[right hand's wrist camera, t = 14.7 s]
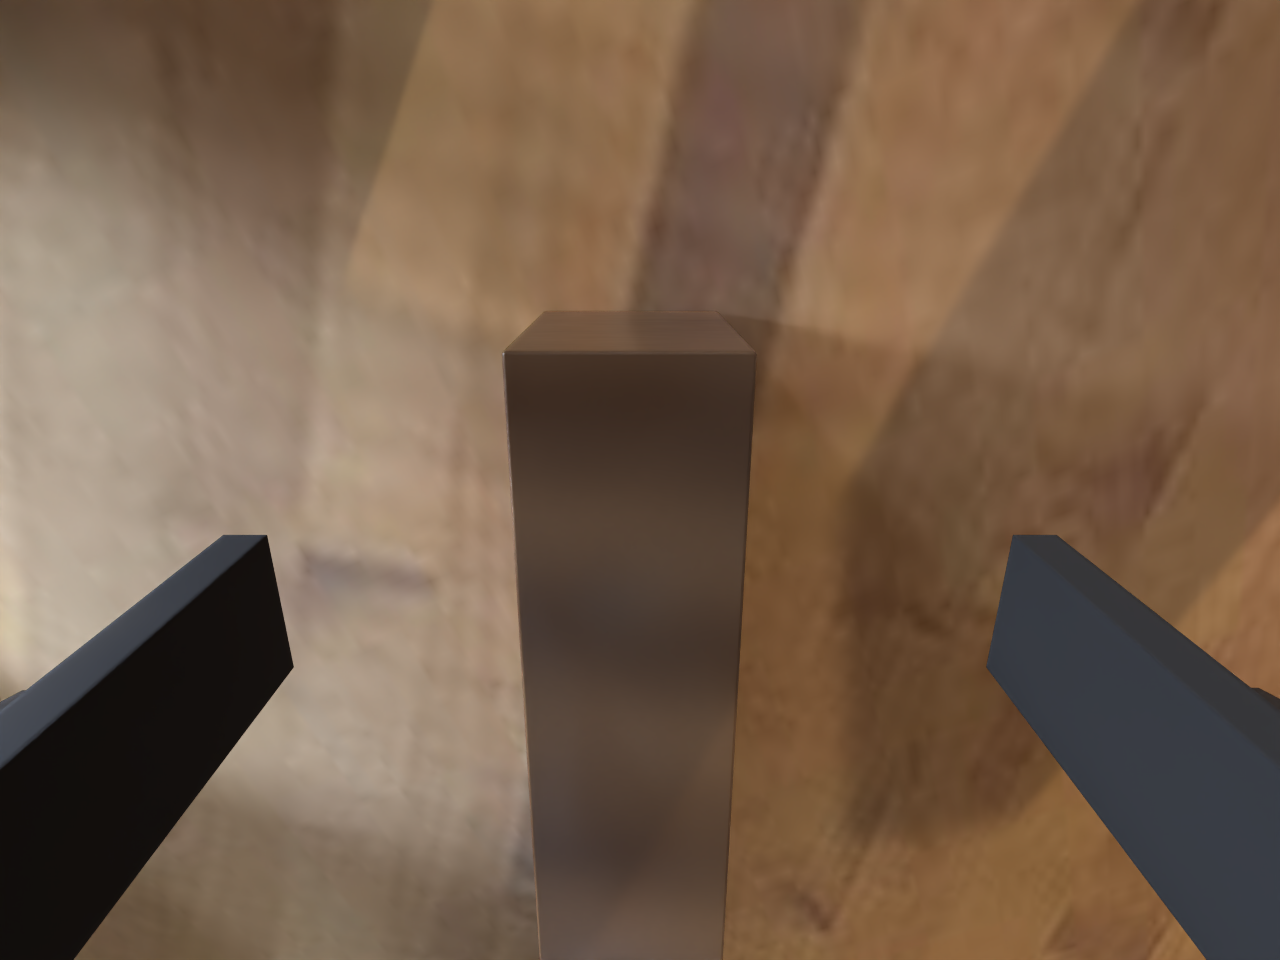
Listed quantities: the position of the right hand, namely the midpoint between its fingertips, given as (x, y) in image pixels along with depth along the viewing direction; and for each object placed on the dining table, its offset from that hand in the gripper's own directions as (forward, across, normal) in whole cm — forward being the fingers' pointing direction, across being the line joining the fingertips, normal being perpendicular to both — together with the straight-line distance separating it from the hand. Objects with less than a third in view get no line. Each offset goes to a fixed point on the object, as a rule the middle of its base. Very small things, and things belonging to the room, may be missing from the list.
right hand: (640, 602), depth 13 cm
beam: (+12, 0, -22) cm, 25 cm away
